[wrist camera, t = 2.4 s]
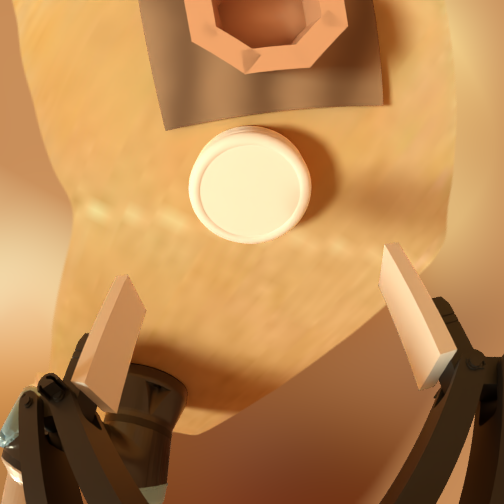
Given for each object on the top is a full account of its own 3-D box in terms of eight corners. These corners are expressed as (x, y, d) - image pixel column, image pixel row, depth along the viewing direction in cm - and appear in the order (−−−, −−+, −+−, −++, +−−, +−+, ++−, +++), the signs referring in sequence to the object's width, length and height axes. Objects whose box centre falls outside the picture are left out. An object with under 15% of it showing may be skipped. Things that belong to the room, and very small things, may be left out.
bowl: (211, 78, 20) (199, 82, 15) (193, -22, 15) (175, -45, 10) (328, 65, 19) (353, 66, 14) (312, -34, 14) (330, -60, 9)
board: (169, 127, 23) (165, 130, 22) (137, -34, 14) (132, -37, 13) (377, 103, 22) (383, 105, 21) (353, -58, 13) (358, -62, 12)
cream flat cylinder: (180, 205, 28) (173, 223, 25) (217, 107, 23) (213, 113, 20) (276, 239, 30) (279, 260, 27) (324, 152, 25) (334, 165, 22)
